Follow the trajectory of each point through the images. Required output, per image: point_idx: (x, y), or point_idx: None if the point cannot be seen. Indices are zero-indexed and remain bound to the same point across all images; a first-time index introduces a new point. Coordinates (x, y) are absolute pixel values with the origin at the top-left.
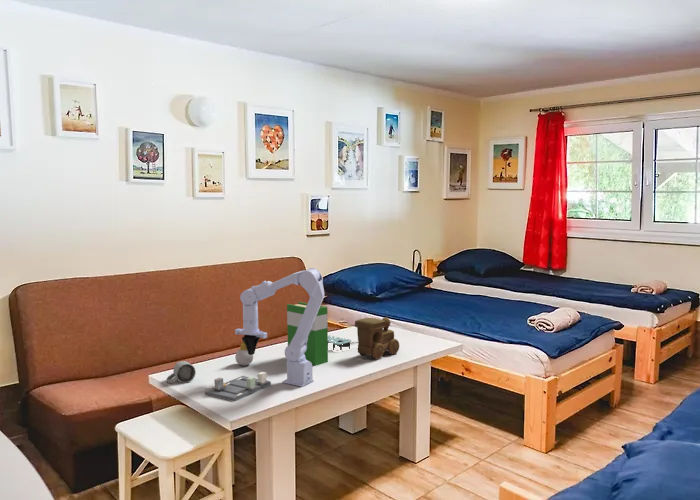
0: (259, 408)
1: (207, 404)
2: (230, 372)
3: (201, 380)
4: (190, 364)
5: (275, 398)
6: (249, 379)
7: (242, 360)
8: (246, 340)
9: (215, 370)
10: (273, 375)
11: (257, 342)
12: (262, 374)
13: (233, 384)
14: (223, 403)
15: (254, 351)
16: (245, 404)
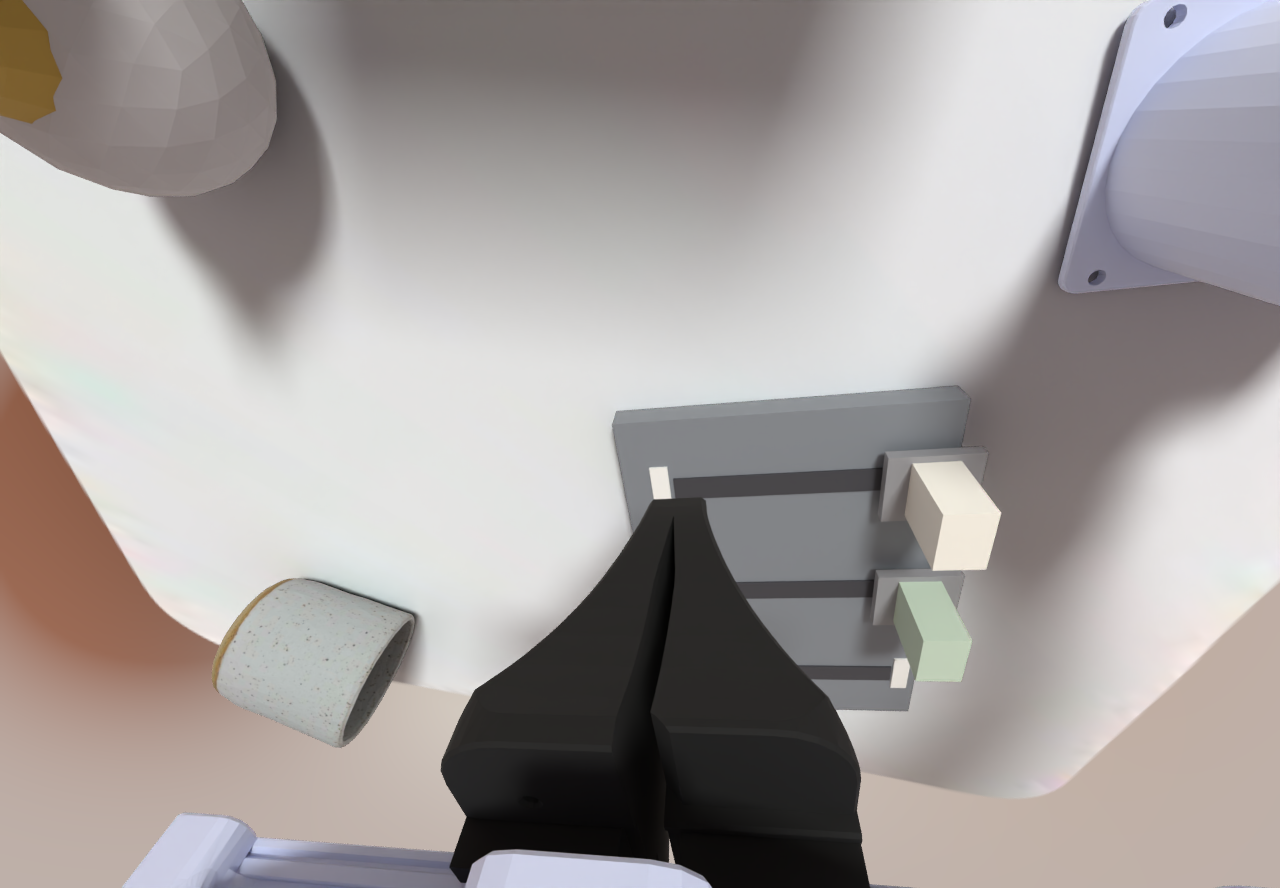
0: (1123, 702)
1: None
2: (388, 353)
3: (429, 570)
4: (347, 715)
5: (1165, 572)
6: (948, 678)
7: (243, 168)
8: (668, 845)
9: (259, 387)
10: (804, 145)
11: (764, 626)
12: (986, 556)
13: None
14: (861, 722)
15: (710, 526)
16: (997, 695)
